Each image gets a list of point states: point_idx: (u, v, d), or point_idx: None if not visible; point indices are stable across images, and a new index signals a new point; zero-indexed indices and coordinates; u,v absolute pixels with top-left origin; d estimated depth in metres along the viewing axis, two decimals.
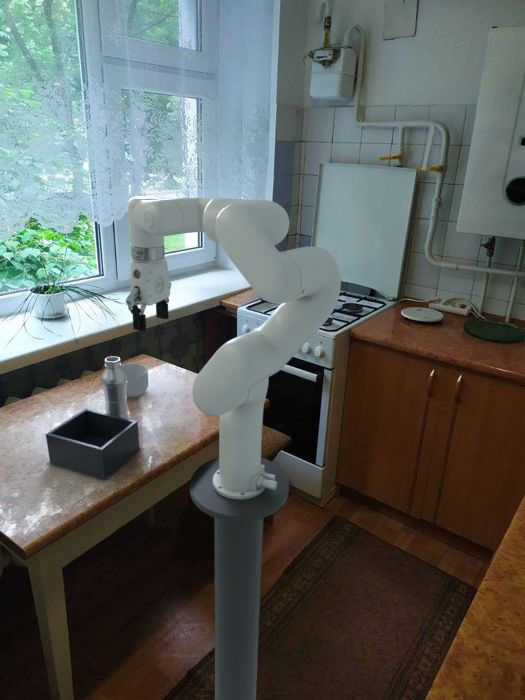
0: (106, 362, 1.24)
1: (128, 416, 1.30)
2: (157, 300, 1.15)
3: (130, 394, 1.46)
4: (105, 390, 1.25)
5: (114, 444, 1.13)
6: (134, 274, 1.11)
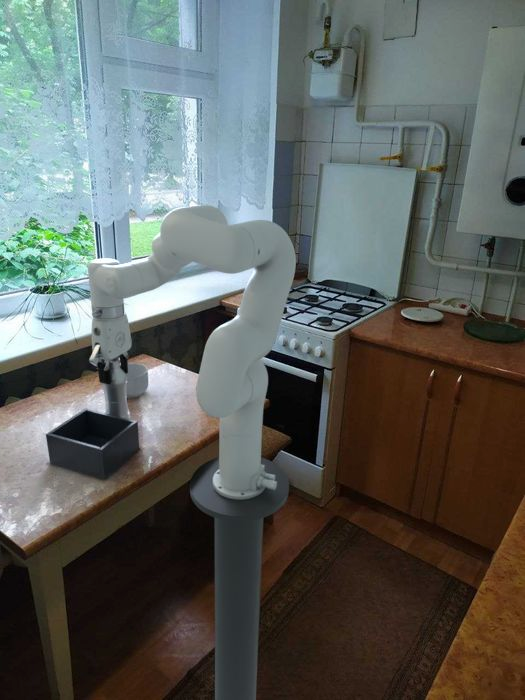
0: None
1: (128, 416, 1.30)
2: (118, 354, 1.22)
3: (130, 394, 1.46)
4: (105, 390, 1.25)
5: (114, 444, 1.13)
6: (95, 331, 1.18)
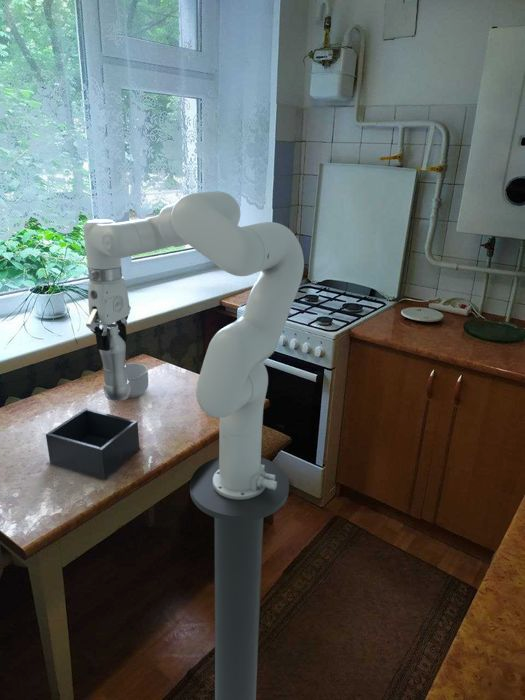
0: None
1: (127, 386, 1.26)
2: (116, 319, 1.18)
3: (130, 394, 1.46)
4: (103, 358, 1.22)
5: (114, 444, 1.13)
6: (92, 295, 1.15)
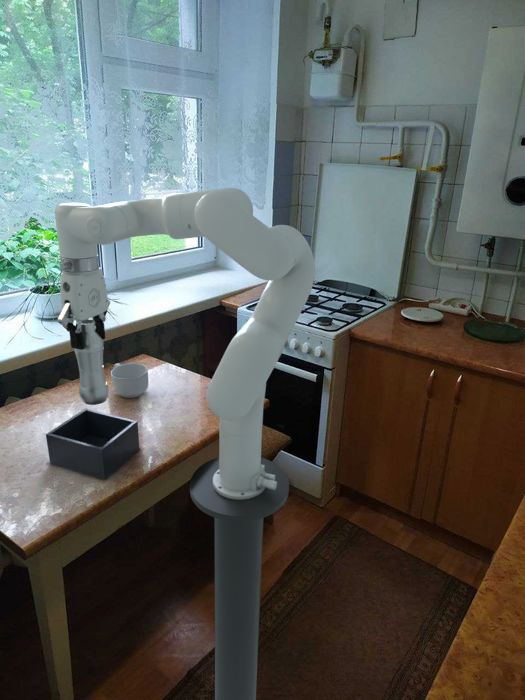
0: None
1: (105, 388, 1.15)
2: (91, 315, 1.06)
3: (130, 394, 1.46)
4: (78, 357, 1.10)
5: (114, 444, 1.13)
6: (64, 287, 1.03)
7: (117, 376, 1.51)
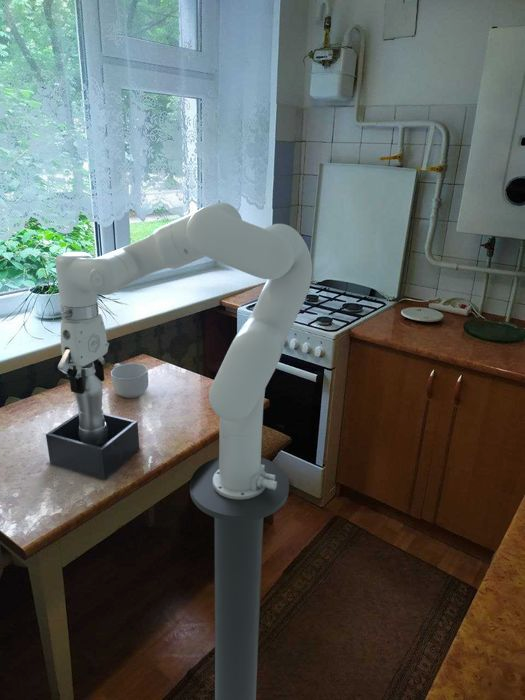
0: None
1: (104, 429, 1.16)
2: (91, 360, 1.08)
3: (130, 394, 1.46)
4: (78, 400, 1.12)
5: (114, 444, 1.13)
6: (64, 334, 1.04)
7: (117, 376, 1.51)
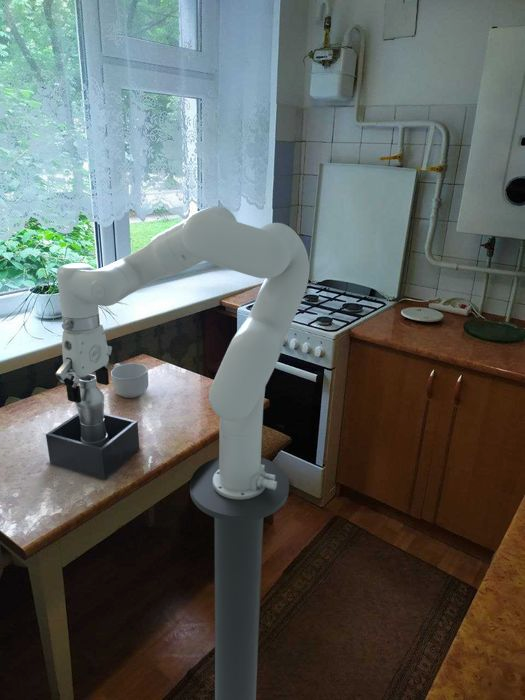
0: (80, 381, 1.11)
1: (106, 440, 1.18)
2: (92, 370, 1.09)
3: (130, 394, 1.46)
4: (79, 412, 1.13)
5: (114, 444, 1.13)
6: (66, 345, 1.05)
7: (117, 376, 1.51)
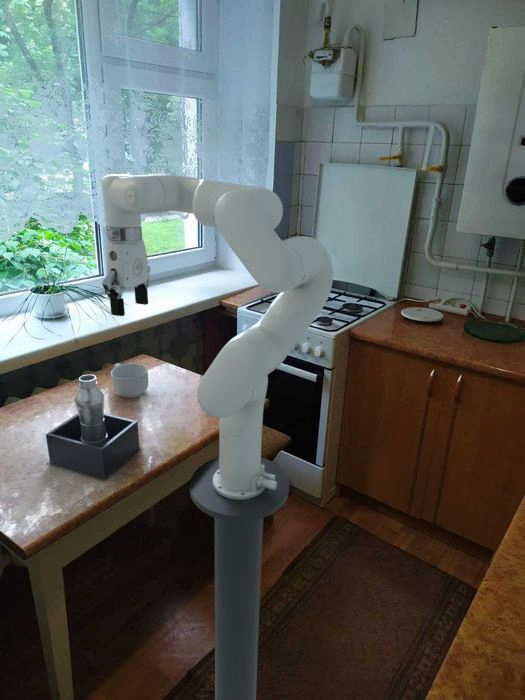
0: (80, 381, 1.11)
1: (106, 440, 1.18)
2: (135, 283, 1.10)
3: (130, 394, 1.46)
4: (79, 412, 1.13)
5: (114, 444, 1.13)
6: (110, 256, 1.06)
7: (117, 376, 1.51)
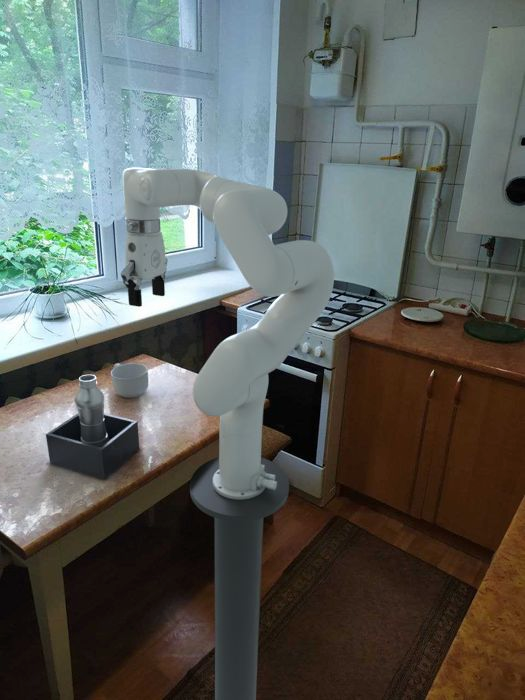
0: (80, 381, 1.11)
1: (106, 440, 1.18)
2: (153, 275, 1.13)
3: (130, 394, 1.46)
4: (79, 412, 1.13)
5: (114, 444, 1.13)
6: (129, 248, 1.09)
7: (117, 376, 1.51)
